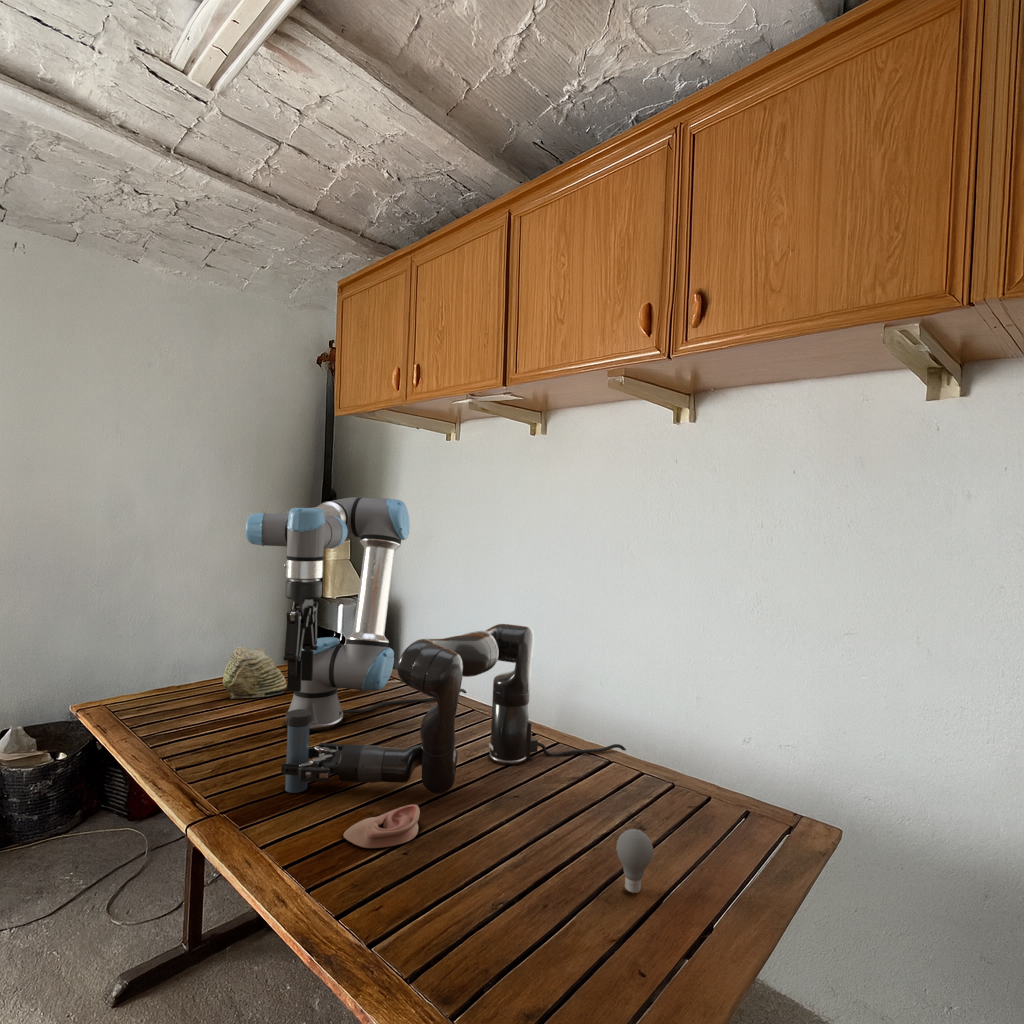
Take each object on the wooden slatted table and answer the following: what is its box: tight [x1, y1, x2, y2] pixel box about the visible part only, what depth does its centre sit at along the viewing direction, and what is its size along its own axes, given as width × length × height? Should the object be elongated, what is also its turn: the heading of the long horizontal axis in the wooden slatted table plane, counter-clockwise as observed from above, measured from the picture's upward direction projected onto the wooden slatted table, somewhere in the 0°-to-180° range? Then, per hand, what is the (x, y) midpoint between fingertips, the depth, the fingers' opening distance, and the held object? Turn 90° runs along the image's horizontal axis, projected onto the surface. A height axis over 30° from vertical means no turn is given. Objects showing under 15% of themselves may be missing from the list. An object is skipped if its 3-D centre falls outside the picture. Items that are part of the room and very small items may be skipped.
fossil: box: [222, 646, 287, 699], centre depth 198 cm, size 9×18×15 cm, turn 132°
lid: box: [285, 709, 312, 727], centre depth 137 cm, size 5×5×2 cm
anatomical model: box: [342, 804, 421, 849], centre depth 120 cm, size 13×4×12 cm
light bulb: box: [615, 828, 654, 894], centre depth 106 cm, size 6×6×10 cm
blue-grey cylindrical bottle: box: [284, 724, 310, 794], centre depth 137 cm, size 5×5×16 cm
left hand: (300, 685), depth 137 cm, fingers open, 7 cm apart
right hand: (289, 760), depth 137 cm, fingers open, 8 cm apart
